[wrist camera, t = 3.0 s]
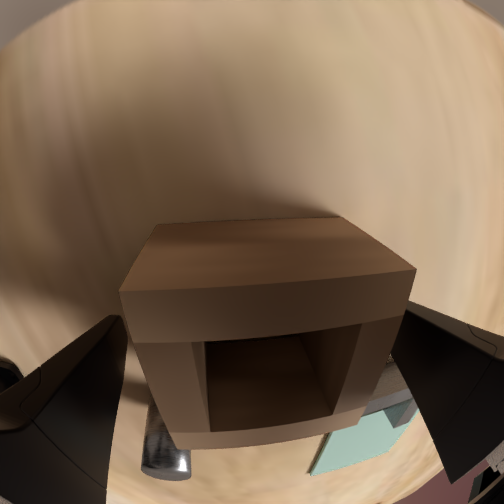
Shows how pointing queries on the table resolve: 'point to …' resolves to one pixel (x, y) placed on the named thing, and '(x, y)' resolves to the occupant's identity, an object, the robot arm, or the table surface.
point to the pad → (358, 442)
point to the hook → (179, 460)
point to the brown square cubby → (263, 326)
